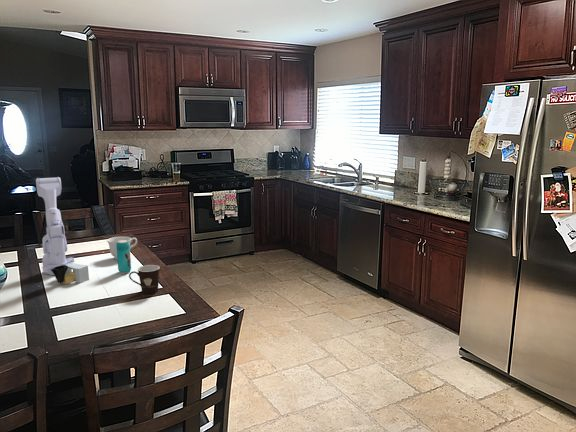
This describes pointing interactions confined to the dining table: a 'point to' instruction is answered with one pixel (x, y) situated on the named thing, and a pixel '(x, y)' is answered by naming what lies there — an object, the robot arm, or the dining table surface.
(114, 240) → the teacup
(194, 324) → the dining table surface
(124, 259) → the beverage can
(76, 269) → the housing
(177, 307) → the dining table surface
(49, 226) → the robot arm
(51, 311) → the dining table surface
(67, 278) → the plug
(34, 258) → the dining table surface
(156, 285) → the coffee mug
